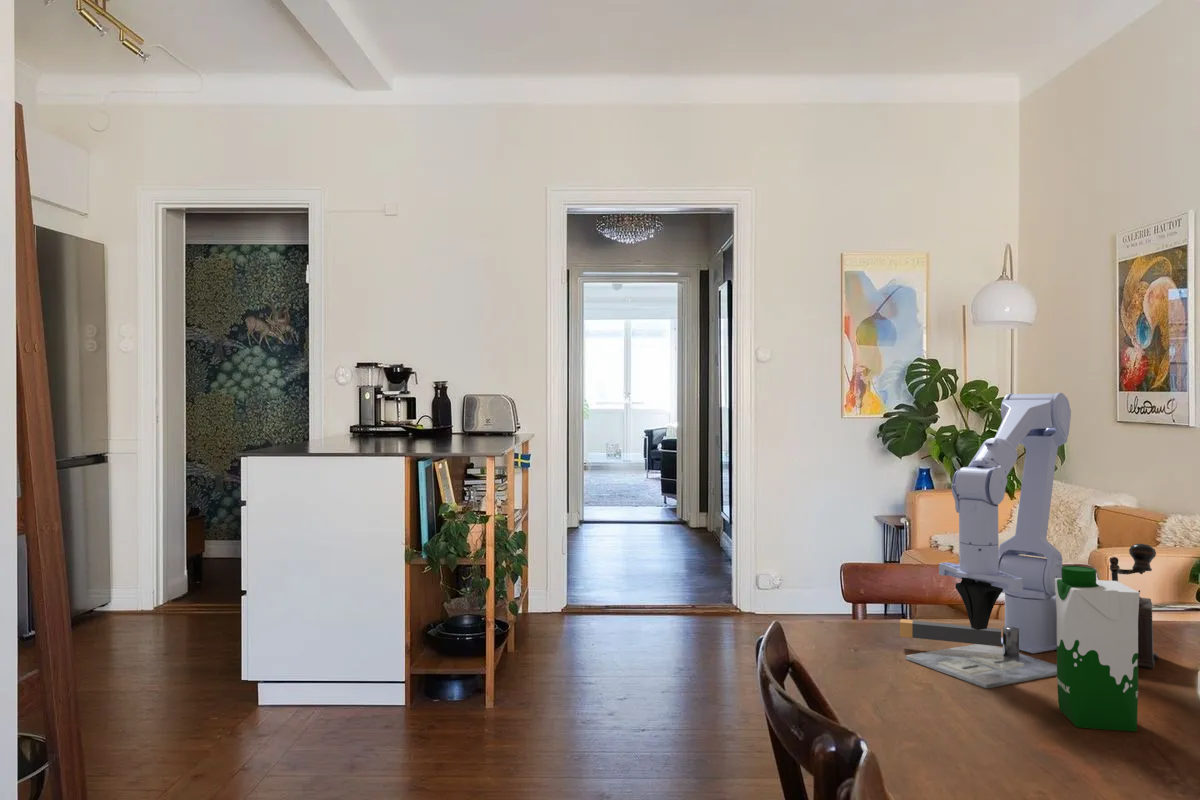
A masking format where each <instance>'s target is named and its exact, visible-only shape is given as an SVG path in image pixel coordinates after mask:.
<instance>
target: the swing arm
mask: <svg viewBox="0 0 1200 800" xmlns="http://www.w3.org/2000/svg"><path fill="white" fill-rule="evenodd" d="M899 637H900V638H908V639H921V640H922V639H924V640H931V641H932V640H933V641H943V642H951V643H963V644H969V645H974V644H980V645H990V646H997V647H1000V648H1002V644H1001V638H1002V630H1001V628H999V627H998V628H996V627H987V629H982V630H976V629H973V628H971V625H964V624H953V623H943V622H941V623H940V622H932V621H931V622H930V621H921V620H920V621H919V620H913V619H904V618H901V619H900V621H899Z"/></svg>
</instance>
